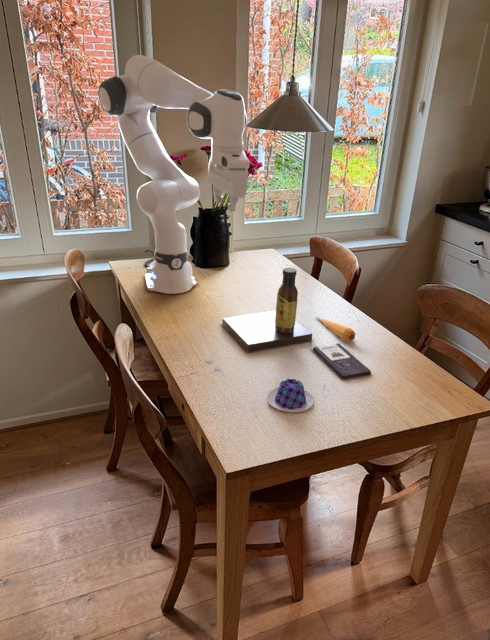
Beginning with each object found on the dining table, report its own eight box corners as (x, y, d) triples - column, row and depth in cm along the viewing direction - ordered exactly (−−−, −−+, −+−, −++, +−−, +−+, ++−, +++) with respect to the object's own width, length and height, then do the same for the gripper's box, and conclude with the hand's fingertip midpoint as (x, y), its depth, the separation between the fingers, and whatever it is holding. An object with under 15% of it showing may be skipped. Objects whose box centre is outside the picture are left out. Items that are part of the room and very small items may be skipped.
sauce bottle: (272, 326, 169) (276, 265, 159) (291, 325, 170) (296, 265, 160) (277, 335, 164) (282, 273, 154) (297, 333, 165) (302, 272, 155)
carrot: (354, 345, 168) (359, 331, 167) (343, 342, 165) (349, 328, 164) (319, 325, 184) (324, 313, 183) (309, 322, 181) (314, 310, 180)
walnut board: (222, 325, 173) (222, 318, 172) (281, 316, 182) (282, 309, 181) (248, 352, 158) (248, 344, 157) (311, 340, 167) (312, 333, 166)
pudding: (323, 406, 135) (325, 389, 133) (284, 419, 129) (286, 401, 127) (295, 384, 144) (297, 367, 141) (257, 396, 138) (259, 378, 135)
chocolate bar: (343, 376, 147) (313, 347, 161) (342, 379, 147) (312, 350, 161) (370, 371, 150) (338, 343, 164) (370, 374, 151) (338, 346, 165)
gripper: (203, 149, 155) (202, 197, 162) (231, 163, 140) (228, 216, 147) (223, 149, 158) (221, 197, 165) (252, 163, 143) (249, 215, 150)
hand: (225, 206), depth 156 cm, fingers open, 8 cm apart
